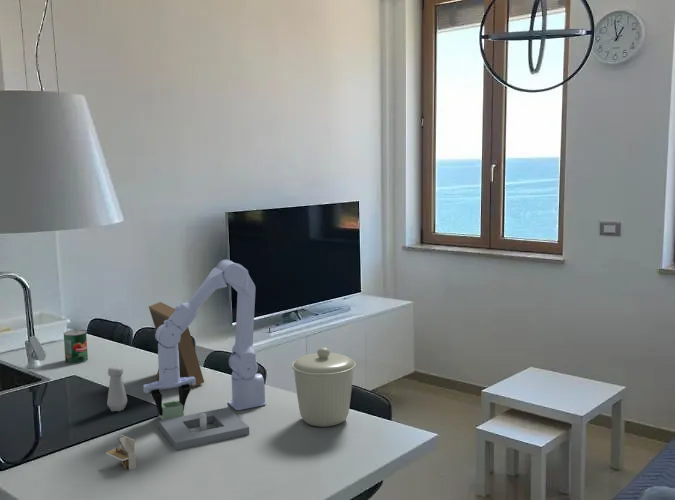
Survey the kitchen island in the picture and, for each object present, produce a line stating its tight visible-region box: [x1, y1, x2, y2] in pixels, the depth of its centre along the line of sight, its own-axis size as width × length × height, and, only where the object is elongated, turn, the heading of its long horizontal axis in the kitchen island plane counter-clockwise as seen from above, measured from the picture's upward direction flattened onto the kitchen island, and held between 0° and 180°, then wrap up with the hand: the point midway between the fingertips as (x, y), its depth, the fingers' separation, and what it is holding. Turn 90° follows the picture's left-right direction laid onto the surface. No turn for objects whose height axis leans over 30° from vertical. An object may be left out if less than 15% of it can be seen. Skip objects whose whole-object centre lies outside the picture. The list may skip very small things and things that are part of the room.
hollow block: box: [158, 399, 185, 420], centre depth 194 cm, size 6×6×4 cm
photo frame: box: [148, 301, 205, 389], centre depth 226 cm, size 15×22×25 cm
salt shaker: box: [106, 365, 128, 412], centre depth 201 cm, size 6×6×13 cm
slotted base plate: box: [158, 407, 250, 451], centre depth 185 cm, size 20×17×5 cm
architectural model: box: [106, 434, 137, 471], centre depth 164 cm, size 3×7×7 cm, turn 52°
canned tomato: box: [63, 329, 89, 365], centre depth 251 cm, size 8×8×11 cm
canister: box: [291, 346, 357, 427], centre depth 190 cm, size 18×18×21 cm
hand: (171, 412), depth 194 cm, fingers closed on hollow block, 6 cm apart
